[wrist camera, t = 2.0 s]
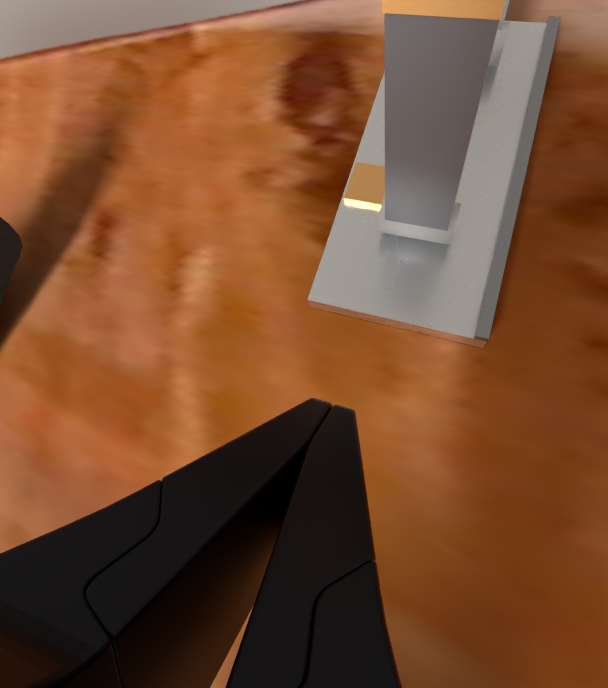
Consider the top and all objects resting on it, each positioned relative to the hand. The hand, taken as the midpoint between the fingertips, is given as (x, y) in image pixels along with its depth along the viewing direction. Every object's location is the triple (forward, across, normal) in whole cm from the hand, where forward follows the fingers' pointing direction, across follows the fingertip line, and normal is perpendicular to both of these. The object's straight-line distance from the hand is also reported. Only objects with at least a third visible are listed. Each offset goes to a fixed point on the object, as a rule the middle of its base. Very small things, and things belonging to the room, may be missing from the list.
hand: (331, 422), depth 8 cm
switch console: (+22, 0, -2) cm, 22 cm away
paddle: (+16, 0, 0) cm, 17 cm away
